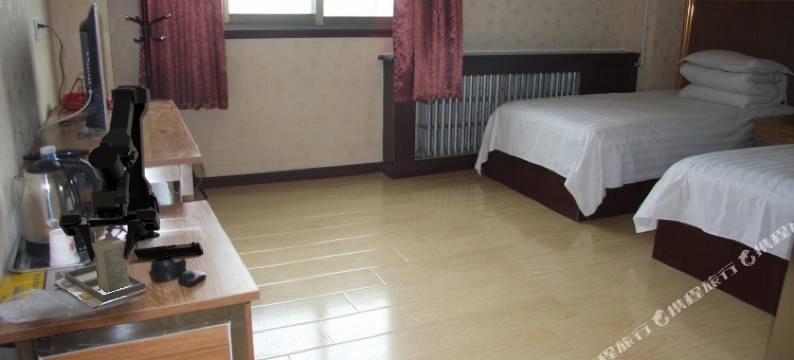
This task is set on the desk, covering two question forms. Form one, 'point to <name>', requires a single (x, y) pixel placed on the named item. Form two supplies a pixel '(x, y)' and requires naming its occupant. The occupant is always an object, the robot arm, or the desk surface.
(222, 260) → the desk surface
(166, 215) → the desk surface
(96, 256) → the skincare box
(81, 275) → the divided tray
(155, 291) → the desk surface
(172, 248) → the electric trimmer
